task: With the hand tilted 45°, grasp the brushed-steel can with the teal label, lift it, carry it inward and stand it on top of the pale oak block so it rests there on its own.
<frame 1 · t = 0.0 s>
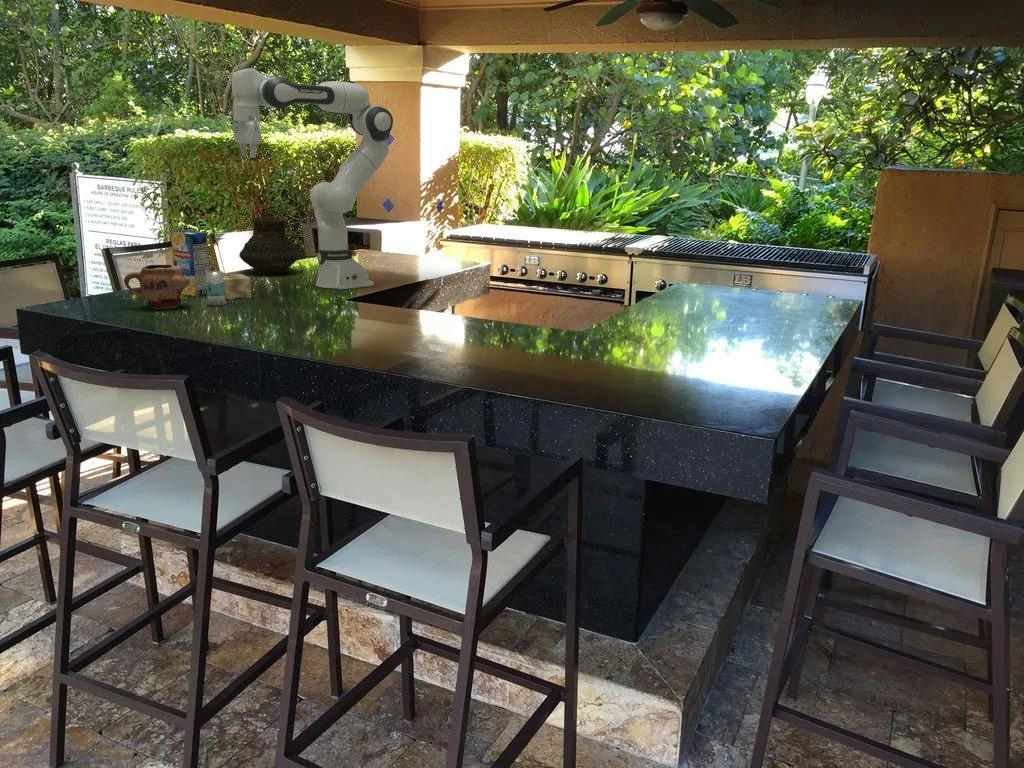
hand: (248, 157, 303), 48 cm above the table, tool pointing down, fingers open, 8 cm apart
beverage box: (193, 294, 308), on the table
decorative planter: (159, 308, 283), on the table
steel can: (216, 304, 291), on the table
oak block: (233, 296, 305), on the table
ceramic pot: (270, 273, 359), on the table
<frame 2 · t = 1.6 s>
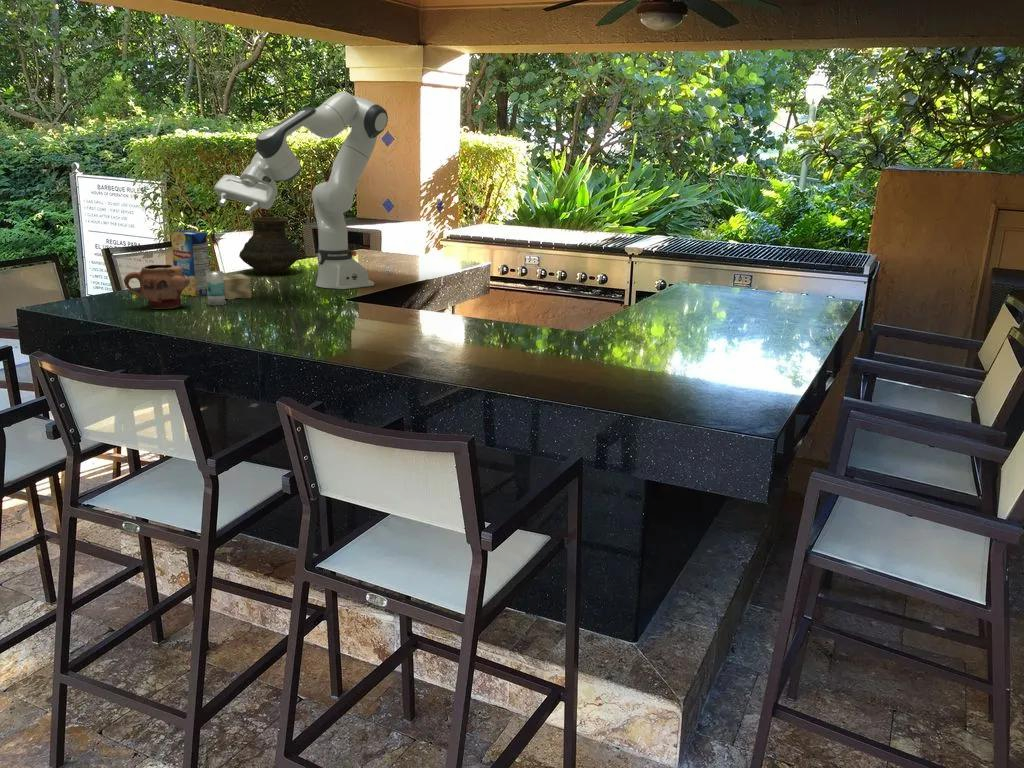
hand: (234, 208, 287), 32 cm above the table, tool tilted 50°, fingers open, 8 cm apart
nothing on the table moved.
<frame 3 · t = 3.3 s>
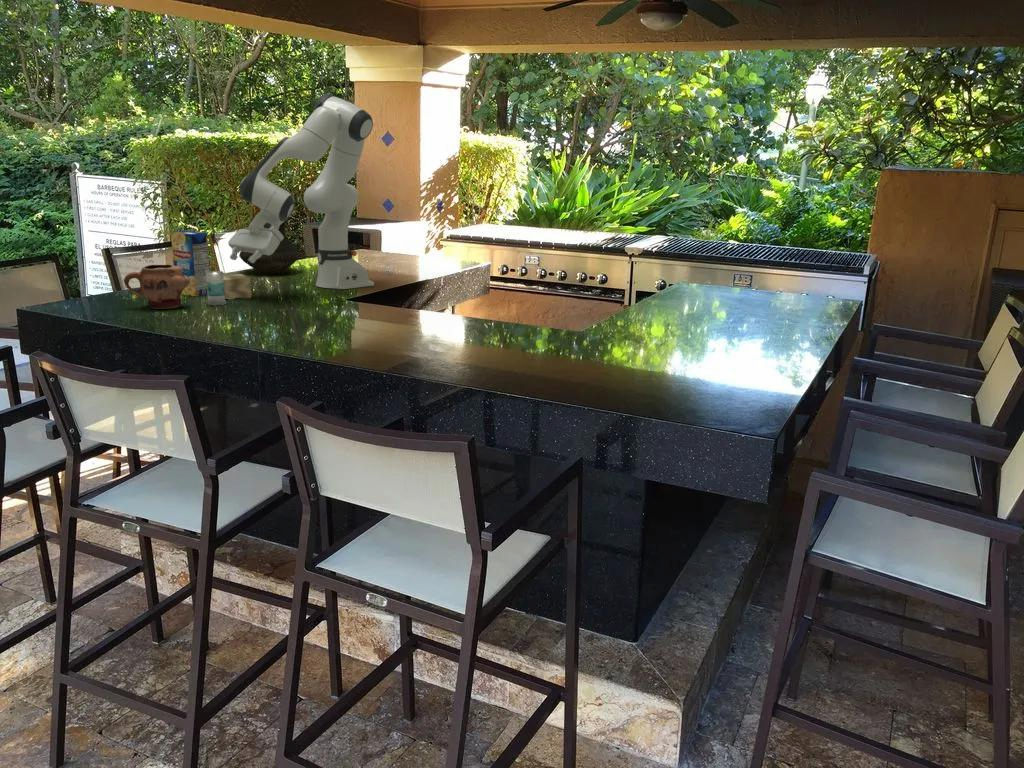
hand: (241, 260, 294), 14 cm above the table, tool tilted 45°, fingers open, 8 cm apart
nothing on the table moved.
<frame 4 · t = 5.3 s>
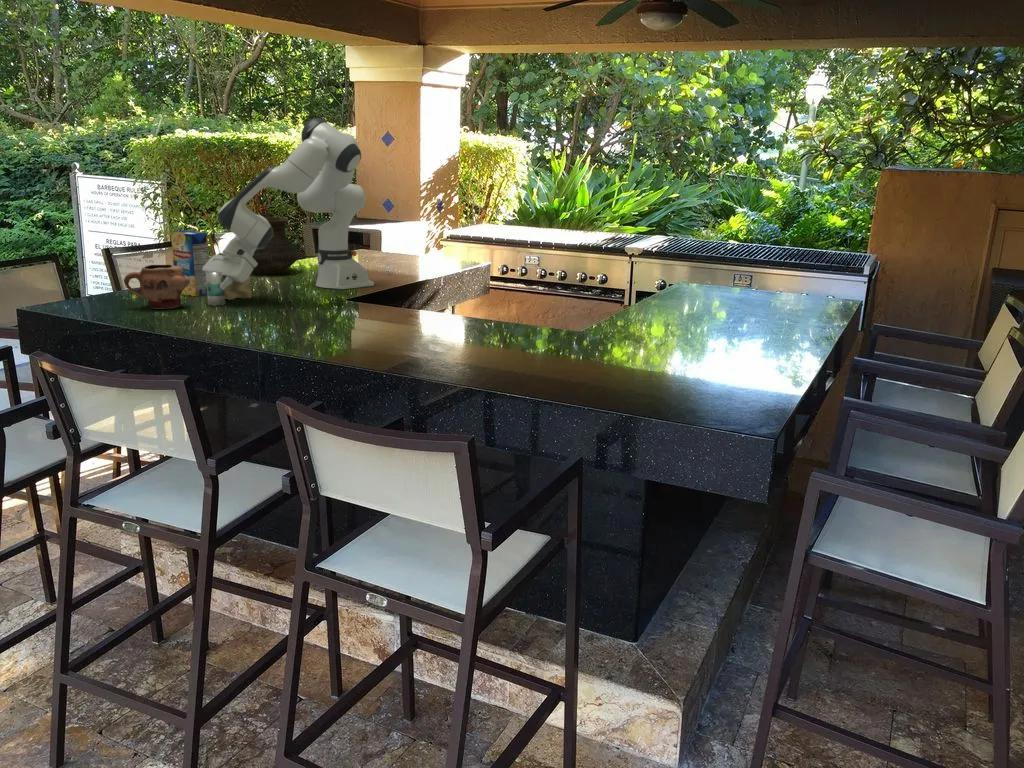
hand: (213, 287, 289), 6 cm above the table, tool tilted 45°, fingers closed on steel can, 6 cm apart
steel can: (216, 304, 291), on the table, touching gripper
everything else where it was.
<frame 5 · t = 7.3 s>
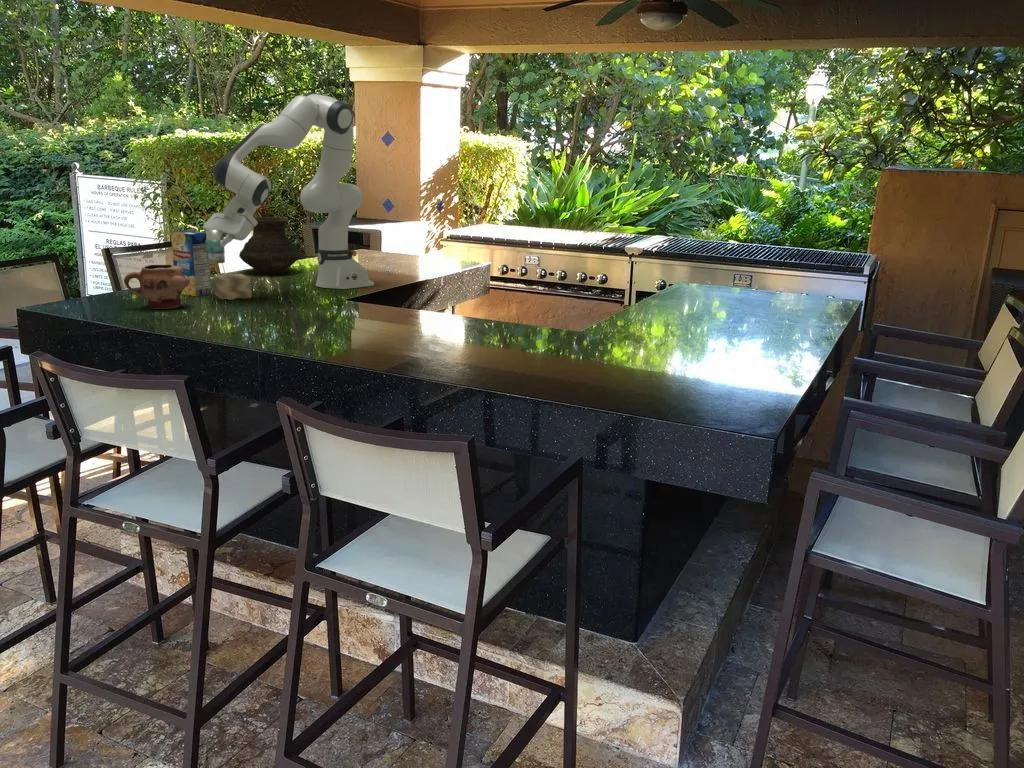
hand: (214, 244, 291), 19 cm above the table, tool tilted 45°, fingers closed on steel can, 6 cm apart
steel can: (216, 261, 293), point 13 cm above the table, touching gripper
everything else where it was.
when the fingers open (14 cm above the table, at t = 9.7 s): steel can stays where it is, resting on oak block.
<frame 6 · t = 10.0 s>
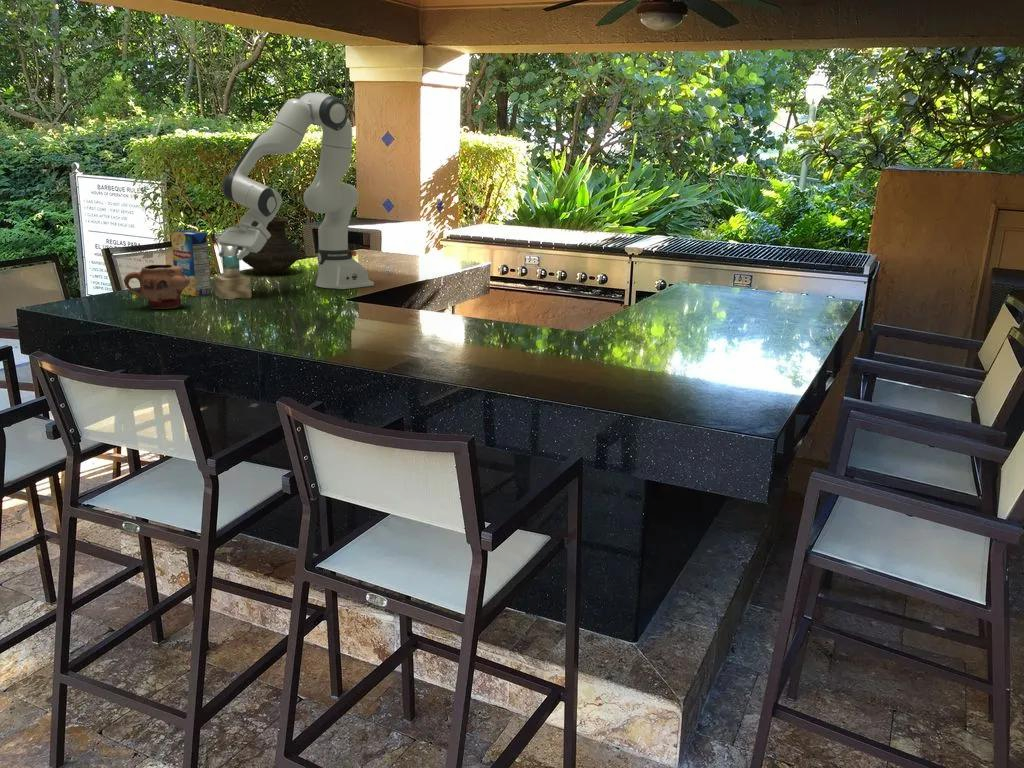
hand: (229, 257, 301), 14 cm above the table, tool tilted 45°, fingers open, 8 cm apart
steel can: (231, 276, 303), point 7 cm above the table, touching oak block
everything else where it was.
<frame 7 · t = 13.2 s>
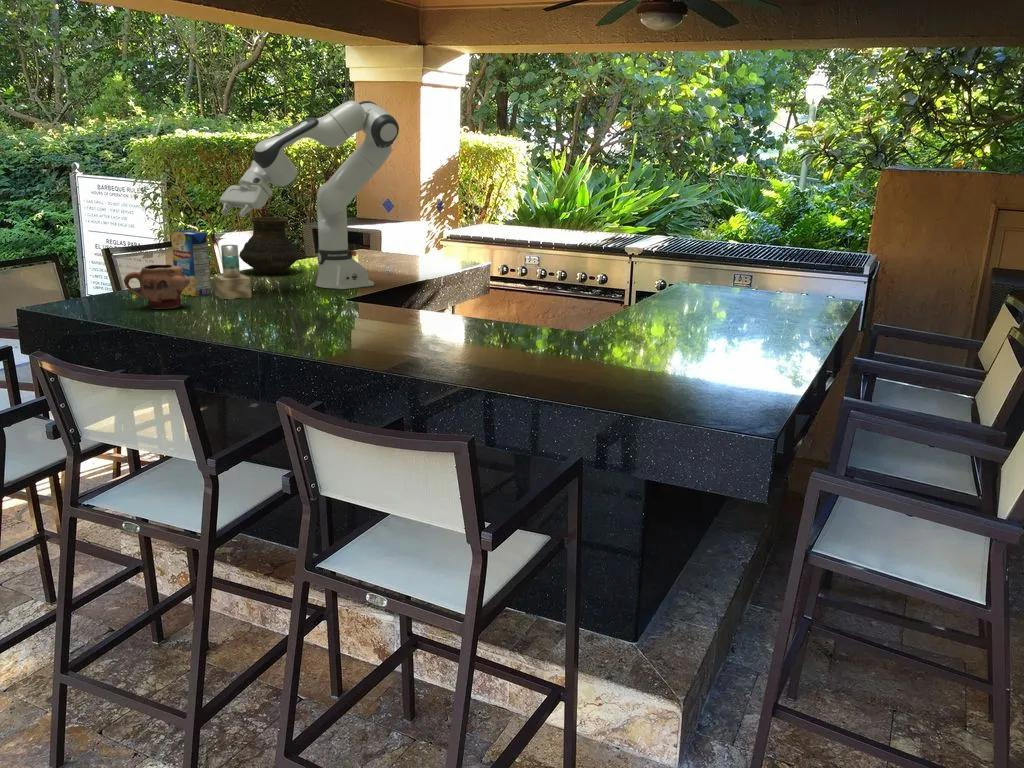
hand: (232, 215, 302), 28 cm above the table, tool tilted 45°, fingers open, 8 cm apart
nothing on the table moved.
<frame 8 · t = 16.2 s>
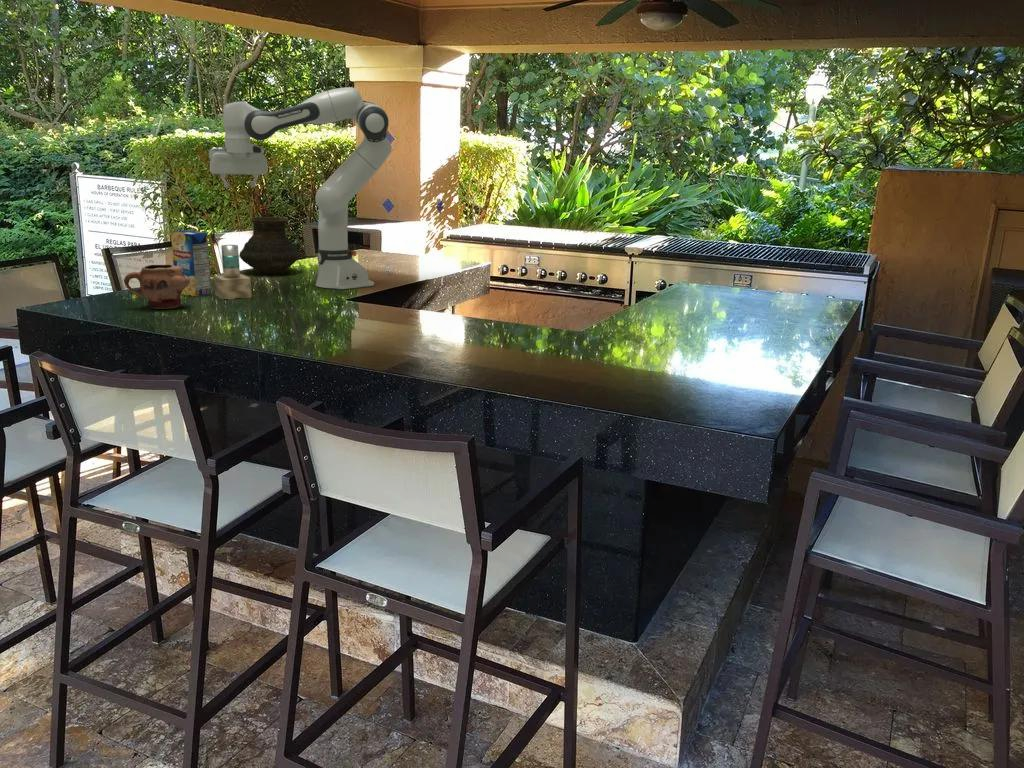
hand: (240, 187, 312), 37 cm above the table, tool pointing down, fingers open, 8 cm apart
nothing on the table moved.
at the end: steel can inside the target area on the oak block (0.1 cm from its centre), point 7.1 cm above the oak block's base; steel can tilted 1°; the gripper is holding nothing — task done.
